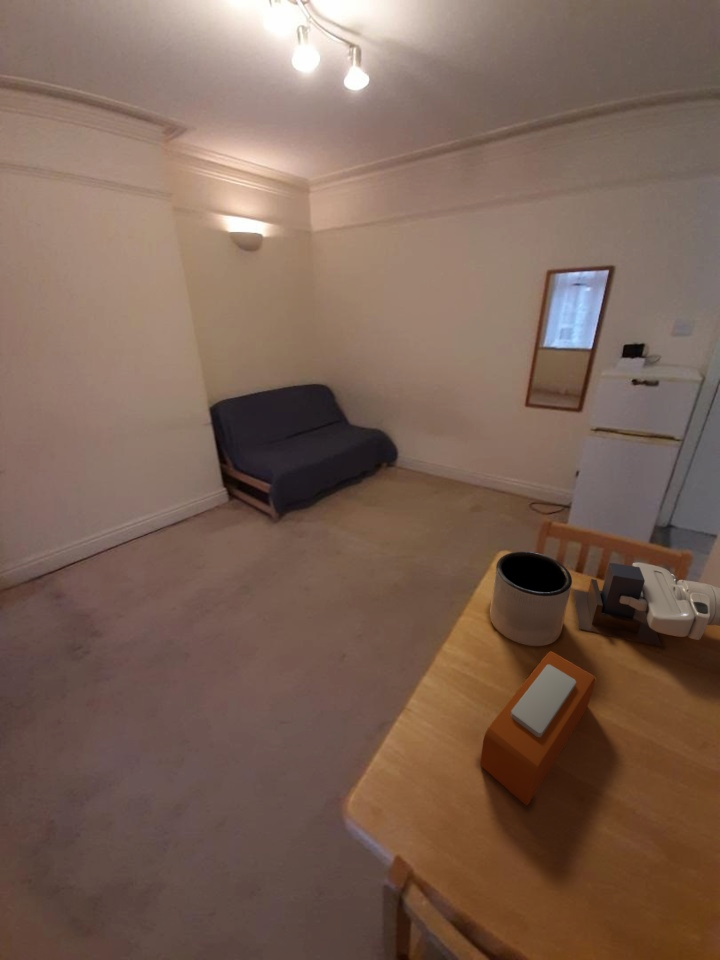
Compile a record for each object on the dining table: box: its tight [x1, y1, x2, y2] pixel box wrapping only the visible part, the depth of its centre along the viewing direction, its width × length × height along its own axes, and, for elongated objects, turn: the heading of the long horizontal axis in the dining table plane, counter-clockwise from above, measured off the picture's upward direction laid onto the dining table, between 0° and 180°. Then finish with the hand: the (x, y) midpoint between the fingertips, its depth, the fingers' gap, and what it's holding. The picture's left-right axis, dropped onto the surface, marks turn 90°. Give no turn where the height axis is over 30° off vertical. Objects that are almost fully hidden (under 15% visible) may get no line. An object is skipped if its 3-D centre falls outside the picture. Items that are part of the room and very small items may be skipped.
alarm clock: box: [479, 651, 596, 806], centre depth 70 cm, size 24×8×11 cm, turn 132°
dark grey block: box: [601, 562, 645, 619], centre depth 93 cm, size 6×5×12 cm
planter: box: [489, 551, 573, 647], centre depth 94 cm, size 16×16×16 cm
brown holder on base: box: [572, 578, 662, 648], centre depth 95 cm, size 16×14×8 cm
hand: (616, 588), depth 93 cm, fingers closed on dark grey block, 5 cm apart
